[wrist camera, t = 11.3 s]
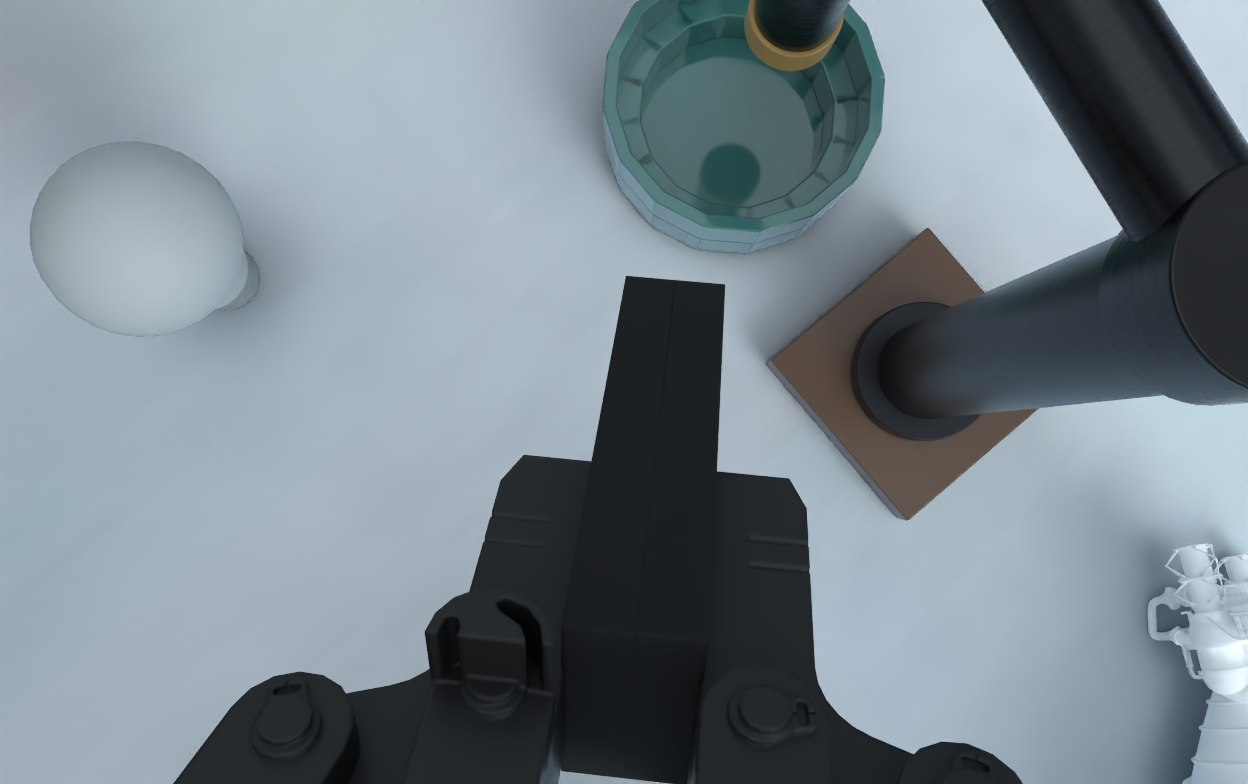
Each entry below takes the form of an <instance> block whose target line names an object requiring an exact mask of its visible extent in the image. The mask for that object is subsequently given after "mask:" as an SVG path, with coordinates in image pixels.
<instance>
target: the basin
mask: <svg viewBox="0 0 1248 784" xmlns="http://www.w3.org/2000/svg"><path fill="white" fill-rule="evenodd" d="M749 1H750V0H639V1H637V2H636V3H635V4H634V5H633V6H632V8H631V10H630V11H629V13H628V15H627V17H626V19H625V21H624V23H623V25H622V26H621V28H620V30H619V32H618V34H617V36H616V38H615V40H614V42H613V43H612V45H611V47H610V49H609V51H608V54H607V61H606V72H605V83H604V95H603V127H604V143H605V146H606V149H607V152H608V156H609V159H610V162H611V165H612V168H613V171H614V174H615V177H616V181H617V184H618V187H619V188H620V190H621V191H622V192H623V194H624V195H625V196H626V197H627V198H628V199H629V201H630V202H631V203H632V204H633V205H634V207H635V208H636V209H637V210H638V211H639V212H640V214H641V215H642V216H643V217H644V218H645V219H646V221H647V222H648V223H649V224H650V225H651V226H652V227H654V228H655V229H657V230H659V231H661V232H663V233H665V234H667V235H669V236H671V237H673V238H675V239H677V240H679V241H681V242H683V243H685V244H687V245H689V246H690V247H692V248H694V249H699V250H709V251H721V252H732V253H744V254H745V253H751V252H754V251H757V250H761V249H764V248H767V247H770V246H773V245H776V244H780V243H783V242H786V241H789V240H792V239H794V238H796V237H798V236H799V235H800V234H801V233H802V232H804V231H805V230H806V229H807V228H808V227H809V226H811V225H812V224H813V223H814V222H815V221H817V220H818V219H819V218H820V217H821V216H823V215H824V214H825V213H826V212H827V211H829V210H830V209H831V208H832V207H833V206H834V205H835V203H836V202H837V201H838V200H839V199H840V198H841V197H842V195H844V193H845V192H846V191H847V190H848V189H849V188H850V187H851V185H852V184H853V183H854V182H855V181H856V180H857V178H858V176H859V174H860V172H861V170H862V168H863V166H864V164H865V162H866V160H867V158H868V156H869V155H870V153H871V151H872V149H873V147H874V145H875V143H876V141H877V139H878V137H879V135H880V132H881V127H882V113H883V99H884V85H885V78H884V73H883V70H882V67H881V64H880V61H879V58H878V55H877V52H876V49H875V46H874V43H873V40H872V37H871V34H870V31H869V29H868V26H867V24H866V23H865V22H864V21H863V20H862V19H861V17H860V16H859V15H858V14H857V13H856V12H855V11H854V9H853V8H852V7H851V6H850V5H849V4H848V5H847V7H846V9H845V11H844V17H843V23H842V26H841V29H840V31H839V33H838V35H837V37H836V39H835V41H834V43H833V45H832V47H831V48H830V50H829V51H828V53H827V54H826V55H825V56H824V58H823V59H821V60H820V61H819V62H818V63H816V64H815V65H813V66H811V67H809V68H806V69H803V70H798V71H783V70H779V69H775V68H773V67H771V66H768V65H767V64H765V63H764V62H762V61H761V60H760V59H759V58H758V57H757V56H756V55H755V54H754V53H753V51H752V50H751V48H750V46H749V45H748V42H747V40H746V36H745V31H744V20H745V15H746V11H747V8H748V4H749Z"/></svg>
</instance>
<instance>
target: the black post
mask: <svg viewBox="0 0 1248 784" xmlns="http://www.w3.org/2000/svg"><path fill="white" fill-rule="evenodd" d="M1116 237H1117V236H1115V237H1113V238H1111V239H1109V240H1106V241H1104V242H1102V243H1099V244H1097V245H1095V246H1092V247H1090V248H1088V249H1085V250H1083V251H1081V252H1078V253H1076V254H1074V255H1071V256H1069V257H1067V258H1064V259H1062V260H1060V261H1057V262H1055V263H1053V264H1050V265H1048V266H1046V267H1043V268H1041V269H1039V270H1037V271H1034V272H1032V273H1030V274H1027V275H1025V276H1023V277H1020V278H1018V279H1016V280H1013V281H1011V282H1009V283H1006V284H1004V285H1002V286H999V287H997V288H995V289H992V290H990V291H988V292H985V293H984V292H983V290H982V289H981V288H980V287H979V286H978V285H977V283H976V282H975V281H974V280H973V279H972V278H971V276H970V275H969V274H968V273H967V272H966V271H965V270H964V268H963V267H962V266H961V265H960V264H959V263H958V261H957V260H956V259H955V258H954V257H953V256H952V255H951V253H950V252H949V251H948V250H947V249H946V248H945V246H944V245H943V244H942V243H941V242H940V241H939V240H938V238H937V237H936V236H935V235H934V234H933V233H932V231H931V230H930V229H929V228H926V229H925V230H924V231H922V232H921V233H919V234H918V235H917V236H915V237H914V238H913V239H912V240H911V241H909V242H908V243H907V244H906V245H905V246H904V247H902V248H901V249H900V250H899V251H898V252H896V253H895V254H894V255H893V256H892V257H890V258H889V259H888V260H887V261H886V262H885V263H883V264H882V265H881V266H880V267H879V268H877V269H876V270H875V271H874V272H873V273H872V274H870V275H869V276H868V277H867V278H866V279H864V280H863V281H862V282H861V283H860V284H859V285H857V286H856V287H855V288H854V289H853V290H851V291H850V292H849V293H848V294H847V295H845V296H844V297H843V298H842V299H841V300H840V301H838V302H837V303H836V304H835V305H834V306H832V307H831V308H830V309H829V310H828V311H827V312H825V313H824V314H823V315H822V316H821V317H819V318H818V319H817V320H816V321H815V322H814V323H812V324H811V325H810V326H809V327H808V328H806V329H805V330H804V331H803V332H802V333H800V334H799V335H798V336H797V337H796V338H795V339H793V340H792V341H791V342H790V343H789V344H787V345H786V346H785V347H784V348H783V349H782V350H780V351H779V352H778V353H777V354H776V355H774V356H773V357H772V358H771V359H770V360H769V361H767V362H766V365H767V366H768V367H769V368H770V370H771V371H772V372H773V373H774V374H775V375H776V377H777V378H778V379H779V380H780V381H781V382H782V384H783V385H784V386H785V387H786V388H787V389H788V391H789V392H790V393H791V394H792V395H793V397H794V398H795V399H796V400H797V401H798V402H799V404H800V405H801V406H802V407H803V408H804V409H805V411H806V412H807V413H808V414H809V415H810V417H811V418H812V419H813V420H814V421H815V422H816V424H817V425H818V426H819V427H820V428H821V429H822V431H823V432H824V433H825V434H826V435H827V436H828V438H829V439H830V440H831V441H832V442H833V444H834V445H835V446H836V447H837V448H838V449H839V451H840V452H841V453H842V454H843V455H844V456H845V458H846V459H847V460H848V461H849V462H850V463H851V465H852V466H853V467H854V468H855V469H856V471H857V472H858V473H859V474H860V475H861V476H862V478H863V479H864V480H865V481H866V482H867V483H868V485H869V486H870V487H871V488H872V489H873V491H874V492H875V493H876V494H877V495H878V496H879V498H880V499H881V500H882V501H883V502H884V503H885V505H886V506H887V507H888V508H889V509H890V510H891V512H892V513H893V514H894V515H895V516H896V517H897V518H900V519H904V520H909V519H911V518H912V517H913V516H914V515H915V514H916V513H918V512H919V511H920V510H921V509H922V508H923V507H925V506H926V505H927V504H928V503H929V502H930V501H932V500H933V499H934V498H935V497H936V496H937V495H939V494H940V493H941V492H942V491H943V490H944V489H945V488H947V487H948V486H949V485H950V484H951V483H952V482H954V481H955V480H956V479H957V478H958V477H959V476H961V475H962V474H963V473H964V472H965V471H966V470H968V469H969V468H970V467H971V466H972V465H973V464H975V463H976V462H977V461H978V460H979V459H980V458H982V457H983V456H984V455H985V454H986V453H987V452H989V451H990V450H991V449H992V448H993V447H994V446H995V445H997V444H998V443H999V442H1000V441H1001V440H1002V439H1004V438H1005V437H1006V436H1007V435H1008V434H1009V433H1011V432H1012V431H1013V430H1014V429H1015V428H1016V427H1018V426H1019V425H1020V424H1021V423H1022V422H1023V421H1025V420H1026V419H1027V418H1028V417H1029V416H1030V415H1032V414H1033V413H1034V412H1035V411H1036V410H1037V409H1039V408H1042V407H1052V406H1062V405H1072V404H1082V403H1091V402H1101V401H1111V400H1121V399H1130V398H1140V397H1150V396H1160V395H1163V394H1161V393H1159V392H1156V391H1155V390H1153V389H1152V388H1150V387H1149V386H1147V385H1146V384H1144V383H1143V382H1142V381H1140V380H1139V379H1138V378H1137V377H1136V376H1135V375H1133V374H1132V373H1131V371H1130V370H1129V369H1128V368H1127V367H1126V366H1125V365H1124V364H1123V363H1122V361H1121V360H1120V358H1119V357H1118V355H1117V354H1116V353H1115V351H1114V349H1113V347H1112V345H1111V343H1110V342H1109V340H1108V337H1107V335H1106V332H1105V329H1104V327H1103V322H1102V318H1101V314H1100V305H1099V284H1100V278H1101V272H1102V268H1103V265H1104V262H1105V259H1106V256H1107V254H1108V252H1109V250H1110V247H1111V245H1112V244H1113V242H1114V240H1115V239H1116Z"/></svg>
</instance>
